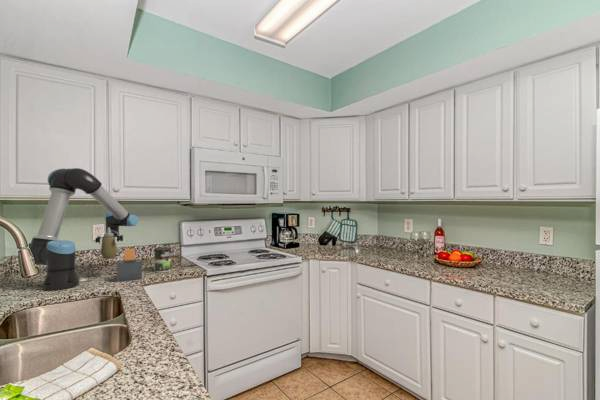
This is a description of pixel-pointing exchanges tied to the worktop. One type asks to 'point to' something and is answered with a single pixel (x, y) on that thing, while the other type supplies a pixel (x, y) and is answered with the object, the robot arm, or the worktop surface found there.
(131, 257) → the breaker handle
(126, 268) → the switch box
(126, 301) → the worktop surface
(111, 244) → the squeeze bottle
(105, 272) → the worktop surface
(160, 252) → the coffee can
